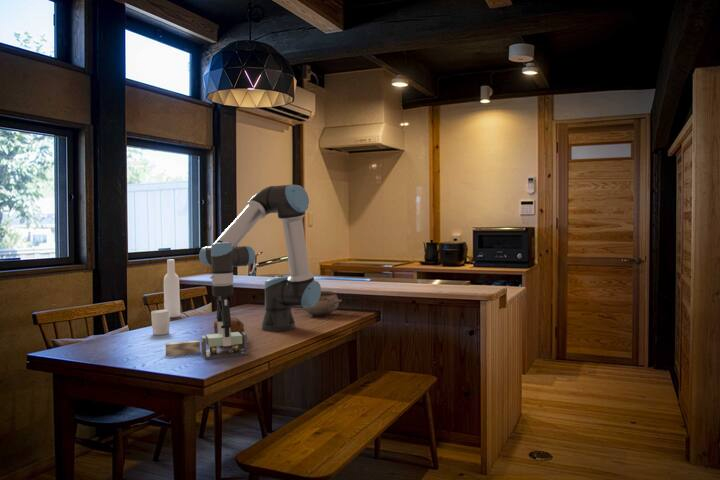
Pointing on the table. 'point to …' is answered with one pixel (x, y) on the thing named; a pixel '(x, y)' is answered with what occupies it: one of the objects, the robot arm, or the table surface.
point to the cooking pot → (324, 304)
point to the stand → (182, 347)
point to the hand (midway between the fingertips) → (224, 342)
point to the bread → (236, 326)
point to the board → (218, 339)
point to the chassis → (225, 349)
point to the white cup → (160, 321)
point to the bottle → (171, 290)
